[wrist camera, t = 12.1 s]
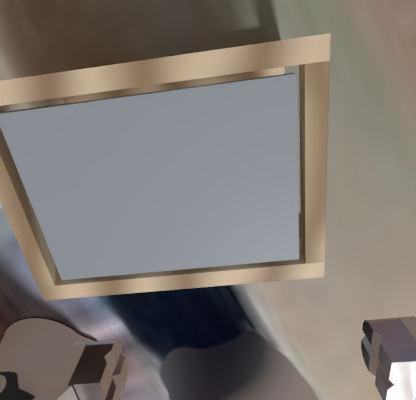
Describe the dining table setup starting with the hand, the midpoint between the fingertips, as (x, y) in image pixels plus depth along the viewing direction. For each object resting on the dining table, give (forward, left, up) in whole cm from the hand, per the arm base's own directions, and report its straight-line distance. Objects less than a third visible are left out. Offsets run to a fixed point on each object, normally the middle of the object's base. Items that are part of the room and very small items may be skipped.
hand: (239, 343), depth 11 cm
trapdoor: (0, +5, -17) cm, 18 cm away
